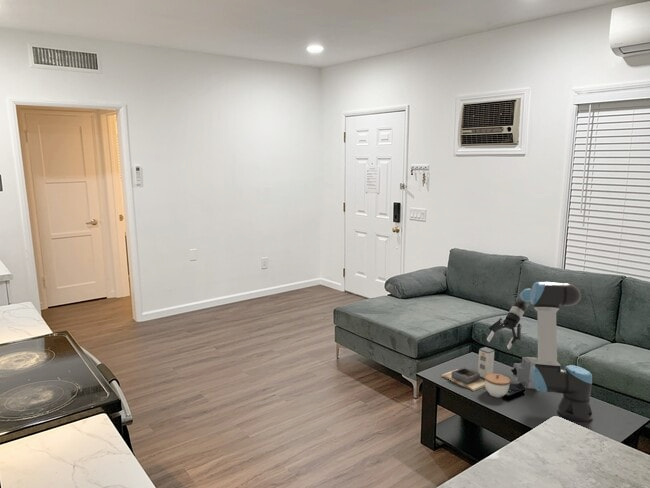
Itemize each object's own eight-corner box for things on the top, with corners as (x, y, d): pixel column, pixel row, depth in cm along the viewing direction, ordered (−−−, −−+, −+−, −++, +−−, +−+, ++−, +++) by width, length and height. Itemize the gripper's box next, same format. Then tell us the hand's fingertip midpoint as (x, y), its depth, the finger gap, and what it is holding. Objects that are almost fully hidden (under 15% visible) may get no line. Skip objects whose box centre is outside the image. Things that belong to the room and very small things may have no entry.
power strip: (492, 376, 271) (494, 350, 269) (485, 379, 268) (487, 352, 265) (483, 372, 276) (485, 346, 274) (476, 375, 272) (478, 349, 270)
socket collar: (479, 379, 264) (479, 373, 263) (467, 384, 257) (467, 378, 257) (463, 372, 272) (464, 367, 272) (451, 377, 266) (451, 371, 266)
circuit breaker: (509, 381, 265) (511, 356, 262) (534, 382, 264) (537, 357, 262) (513, 387, 257) (516, 361, 255) (540, 388, 257) (542, 362, 254)
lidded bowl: (514, 398, 245) (515, 378, 244) (493, 401, 241) (495, 381, 240) (498, 387, 257) (499, 368, 255) (478, 390, 253) (480, 371, 252)
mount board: (489, 384, 260) (489, 382, 260) (473, 391, 252) (473, 389, 252) (457, 370, 278) (457, 369, 278) (441, 376, 270) (441, 374, 270)
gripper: (536, 324, 274) (519, 354, 267) (498, 313, 294) (482, 341, 287) (531, 317, 270) (514, 347, 264) (494, 306, 290) (477, 334, 284)
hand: (497, 344), depth 275 cm, fingers open, 13 cm apart
